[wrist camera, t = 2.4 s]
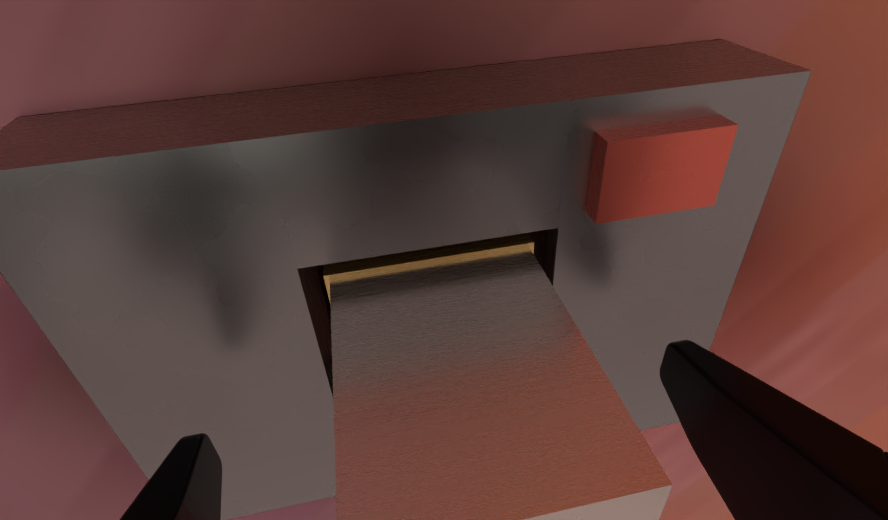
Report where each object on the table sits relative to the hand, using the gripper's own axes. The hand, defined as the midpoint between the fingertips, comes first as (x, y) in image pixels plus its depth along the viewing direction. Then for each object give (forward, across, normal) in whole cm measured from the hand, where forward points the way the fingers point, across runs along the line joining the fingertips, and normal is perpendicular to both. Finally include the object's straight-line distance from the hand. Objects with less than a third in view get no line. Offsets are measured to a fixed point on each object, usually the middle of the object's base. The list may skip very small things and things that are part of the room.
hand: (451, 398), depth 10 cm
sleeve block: (+4, 0, 0) cm, 4 cm away
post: (+4, 0, 0) cm, 4 cm away
